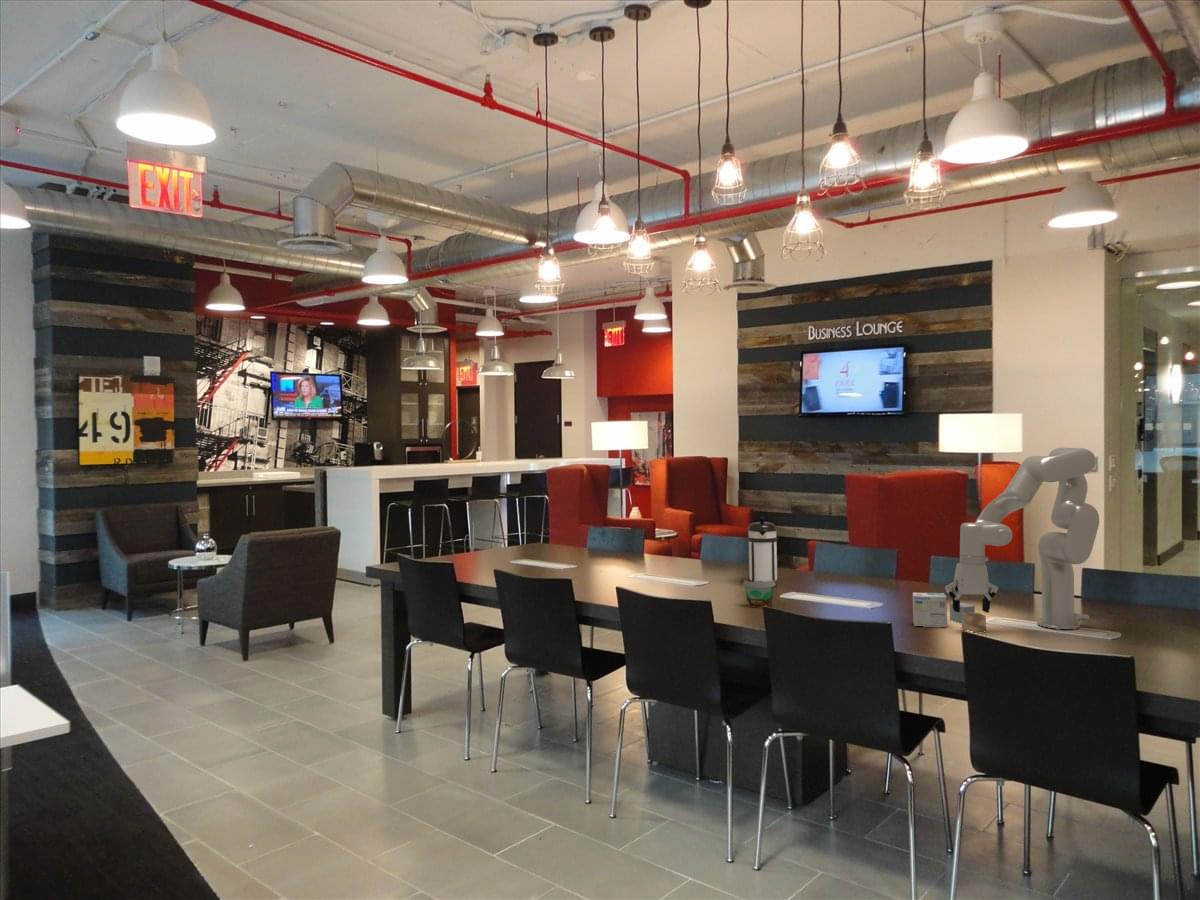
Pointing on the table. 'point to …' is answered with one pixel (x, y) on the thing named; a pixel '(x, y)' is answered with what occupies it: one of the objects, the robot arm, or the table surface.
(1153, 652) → the table surface
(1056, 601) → the robot arm
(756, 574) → the coffee press
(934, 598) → the light bulb box
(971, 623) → the oak cube
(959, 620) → the slate block
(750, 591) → the food container
